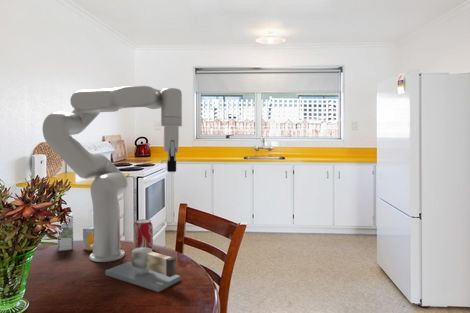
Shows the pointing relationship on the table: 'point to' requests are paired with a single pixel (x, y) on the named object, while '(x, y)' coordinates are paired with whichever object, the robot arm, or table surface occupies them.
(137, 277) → the mount plate
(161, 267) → the lever handle
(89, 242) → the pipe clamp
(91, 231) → the medicine box
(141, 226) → the soda can
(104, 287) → the table surface
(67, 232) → the syrup box
